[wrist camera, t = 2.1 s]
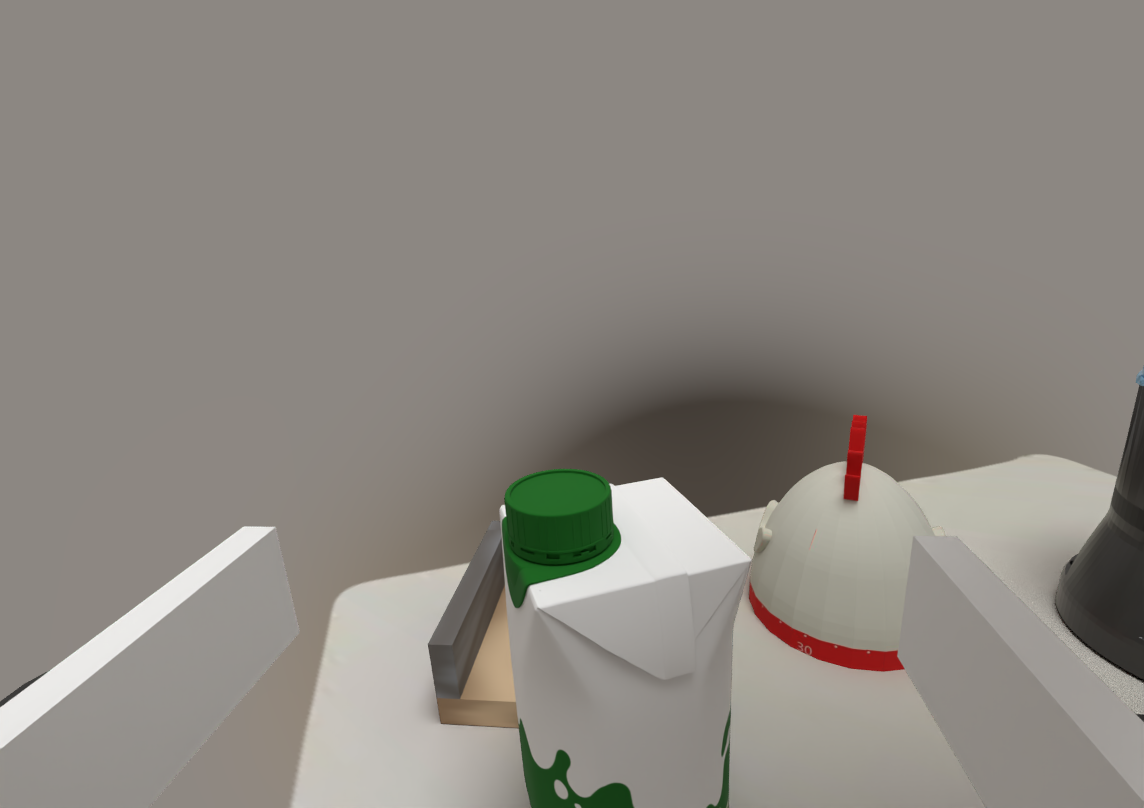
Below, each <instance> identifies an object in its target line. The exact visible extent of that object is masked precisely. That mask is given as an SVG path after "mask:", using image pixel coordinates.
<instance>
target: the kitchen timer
mask: <svg viewBox="0 0 1144 808" xmlns="http://www.w3.org/2000/svg"><path fill="white" fill-rule="evenodd" d="M866 423H867V416H859V415H854V416H853V421H852V427H851V432H850V442H849V450H848V457H847V461H846V462H838V463H834V464H830V465H827V466H824V467H822V468H820V469H818V470H816V471H814V472H812V473H810V474H809V475H807V476H806V477H804V478H803V479H801V480H800V481H799V482H798V483H797V484H795V485H794V486H793V487H792V488H791V489H790V490H789V492H788V493H787V494H786V495H785V496H784V498H783V499H782V500H781V501H780V503H778V502H776V501H775V500H772V501H770V502H769V504H768V505H767V507H766V510H765V512H764V515H763V518H762V520H761V523H760V526H759V530H758V534H757V538H756V542H755V546H754V556H753V560H752V567H751V576H750V592H749V599H750V602H751V604H752V607H753V610H754V612H755V615H756V616H757V617H758V618H759V619H760V621H761V622H762V623H763V624H764V625H765V627H766V628H767V629H768V630H769V631H770V632H771V633H773V634H774V635H776V636H777V637H778V638H780V639H781V640H782V641H784V642H785V643H787V644H788V645H789V646H791V647H793V648H795V649H797V650H799V651H801V652H803V653H806V654H808V655H810V656H812V657H814V658H816V659H818V660H822V661H825V662H829V663H833V664H836V665H840V666H843V667H847V668H851V669H861V670H872V671H882V672H884V671H893V670H901V669H904V667H903V665H902V663H901V662H900V660H899V658H898V657H897V655H898V648H899V640H900V633H901V625H902V617H903V610H904V602H905V595H906V587H907V580H908V572H909V565H910V557H911V550H912V542H913V536H946V535H945V532H944V530H943V528H942V527H940V526H938V527H933V528H931V526H930V524H929V522H928V520H927V518H926V516H925V515H924V513H923V511H922V510H921V508H920V507H919V505H918V504H917V503H916V501H915V500H914V499H913V498H912V496H911V495H910V494H909V493H908V492H907V491H906V490H905V489H904V488H903V487H902V486H901V485H900V484H898V483H897V482H896V481H895V480H894V479H893V478H891V477H890V476H889V475H887V474H886V473H884V472H882V471H880V470H879V469H877V468H875V467H873V466H870V465H867V464H864V463H863V456H864V445H865V436H866Z"/></svg>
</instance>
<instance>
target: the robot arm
mask: <svg viewBox="0 0 1144 808" xmlns="http://www.w3.org/2000/svg"><path fill="white" fill-rule="evenodd" d="M1136 383H1138V384H1139V390H1138V394H1137V398H1136V402H1135V407H1134V411H1133V415H1132V419H1131V424H1130V428H1129V432H1128V436H1127V440H1126V444H1125V448H1124V452H1123V456H1122V460H1121V464H1120V468H1119V471H1118V475H1117V479H1116V485H1115V488H1114V492H1113V496H1112V501H1111V505H1110V508H1109V511H1108V513H1107V514H1106V516H1105V517H1104V518H1103V520H1102V521H1101V522H1100V524H1099V525H1098V526H1097V528H1096V529H1095V531H1094V532H1093V533H1092V535H1091V536H1090V537H1089V539H1088V540H1087V542H1086V543H1085V545H1084V546H1083V548H1082V549H1081V551H1080V552H1079V554H1077V555H1075V556H1074V557H1072V558H1071V559H1070V560H1069V562H1068V563H1067V564H1066V565H1065V566H1064V568H1063V571H1062V573H1061V576H1060V581H1059V585H1058V590H1057V594H1056V606H1057V609H1058V611H1059V613H1060V615H1061V617H1062V619H1063V620H1064V621H1065V623H1066V624H1067V625H1068V626H1069V628H1070V629H1071V630H1072V631H1073V632H1074V633H1075V634H1076V635H1077V636H1078V637H1079V638H1081V639H1082V640H1083V641H1084V642H1085V643H1086V644H1088V645H1089V646H1090V647H1091V648H1093V649H1094V650H1095V651H1097V652H1098V653H1100V654H1101V655H1103V656H1104V657H1105V658H1107V659H1109V660H1110V661H1112V662H1113V663H1115V664H1116V665H1118V666H1120V667H1121V668H1123V669H1125V670H1127V671H1128V672H1130V673H1132V674H1134V675H1136V676H1138V677H1140V678H1141V679H1143V680H1144V367H1143V370H1142V371H1140V372H1139V373H1138V375H1137V378H1136ZM298 634H299V627H298V623H297V618H296V614H295V609H294V605H293V601H292V597H291V592H290V588H289V583H288V580H287V575H286V570H285V566H284V561H283V557H282V553H281V549H280V544H279V540H278V535H277V531H276V527H243V528H241V529H240V530H239V531H237V532H236V533H235V534H233V535H232V536H231V537H229V538H228V539H226V540H225V541H224V542H222V543H221V544H220V545H218V546H217V547H216V548H214V549H213V550H212V551H210V552H209V553H208V554H206V555H205V556H204V557H202V558H201V559H200V560H198V561H197V562H196V563H194V564H193V565H191V566H190V567H189V568H188V569H186V570H185V571H184V572H182V573H181V574H179V575H178V576H177V577H175V578H174V579H173V580H171V581H170V582H169V583H167V584H166V585H165V586H163V587H162V588H161V589H159V590H158V591H157V592H155V593H154V594H152V595H151V596H150V597H148V598H147V599H146V600H144V601H143V602H142V603H140V604H139V605H138V606H136V607H135V608H134V609H132V610H131V611H130V612H128V613H127V614H125V615H124V616H123V617H121V618H120V619H119V620H117V621H116V622H115V623H113V624H112V625H111V626H109V627H108V628H107V629H105V630H104V631H103V632H101V633H100V634H99V635H97V636H96V637H95V638H93V639H92V640H90V641H89V642H88V643H87V644H85V645H84V646H82V647H81V648H80V649H78V650H77V651H76V652H74V653H73V654H72V655H70V656H69V657H68V658H66V659H65V660H64V661H62V662H61V663H60V664H58V665H57V666H55V667H54V668H53V669H51V670H49V671H48V672H46V673H44V674H42V675H40V676H38V677H36V678H35V679H33V680H31V681H29V682H27V683H25V684H24V685H22V686H21V687H19V688H18V689H17V690H15V691H14V692H13V693H11V694H10V695H9V696H7V697H6V698H4V699H3V700H2V701H1V702H0V808H149V807H150V806H151V805H152V804H153V803H154V802H155V800H156V799H157V798H158V797H159V796H160V794H161V793H162V792H163V791H164V790H165V789H166V788H167V786H168V785H169V784H170V783H171V782H172V781H173V779H174V778H175V777H176V776H177V774H178V773H179V772H180V771H181V770H182V769H183V768H184V766H185V765H186V764H187V763H188V761H190V760H191V758H192V757H193V756H194V755H195V754H196V753H197V751H198V750H199V749H200V748H201V747H202V746H203V744H204V743H205V742H206V741H207V740H208V738H209V737H210V736H211V735H212V734H213V733H214V731H215V730H216V729H217V728H218V727H219V726H220V725H221V723H222V722H223V721H224V720H225V719H226V718H227V716H228V715H229V714H230V713H231V712H232V711H233V709H234V708H235V707H236V706H237V705H238V703H239V702H240V701H241V700H242V699H243V698H244V696H245V695H246V694H247V693H248V692H249V691H250V690H251V688H252V687H253V686H254V685H255V684H256V682H257V681H258V680H259V679H260V678H261V677H262V675H263V674H264V673H265V672H266V671H267V670H268V668H269V667H270V666H271V665H272V664H273V663H274V661H275V660H276V659H277V658H278V657H279V656H280V655H281V653H282V652H283V651H284V650H285V649H286V647H287V646H288V645H289V644H290V643H291V642H292V640H293V639H294V638H295V637H296V636H297V635H298ZM897 657H898V658H899V660H900V662H901V663H902V665H903V667H904V669H905V670H906V672H907V674H908V675H909V677H910V679H911V680H912V682H913V684H914V686H915V687H916V689H917V691H918V692H919V694H920V696H921V698H922V699H923V701H924V703H925V704H926V706H927V708H928V710H929V711H930V713H931V715H932V716H933V718H934V720H935V721H936V723H937V725H938V727H939V728H940V730H941V732H942V733H943V735H944V737H945V739H946V740H947V742H948V744H949V745H950V747H951V749H952V751H953V752H954V754H955V756H956V757H957V759H958V761H959V762H960V764H961V766H962V768H963V769H964V771H965V773H966V774H967V776H968V778H969V780H970V781H971V783H972V785H973V786H974V788H975V790H976V792H977V793H978V795H979V797H980V798H981V800H982V802H983V803H984V805H985V807H986V808H1144V715H1141V714H1135V713H1134V712H1133V711H1132V710H1131V709H1130V708H1129V707H1128V706H1127V705H1126V704H1125V703H1124V702H1123V701H1122V700H1121V699H1120V698H1119V697H1118V696H1117V695H1116V694H1115V693H1114V692H1113V691H1112V690H1111V689H1110V688H1109V687H1108V686H1107V685H1106V684H1105V683H1104V682H1103V681H1102V680H1101V679H1100V678H1099V677H1098V676H1097V675H1096V674H1095V673H1094V672H1093V671H1092V670H1091V669H1090V668H1089V667H1088V666H1087V665H1086V664H1085V663H1084V662H1083V661H1082V660H1081V659H1080V658H1079V657H1078V656H1077V655H1076V654H1075V653H1074V652H1073V651H1072V650H1071V649H1070V648H1069V647H1068V646H1067V645H1066V644H1065V643H1064V642H1063V641H1062V640H1061V639H1060V638H1059V637H1058V636H1057V635H1056V634H1055V633H1054V632H1053V631H1052V630H1051V629H1050V628H1049V627H1048V626H1047V625H1046V624H1045V623H1044V622H1043V621H1042V620H1041V619H1040V618H1039V617H1038V616H1037V615H1036V614H1035V613H1034V612H1033V611H1032V610H1031V609H1030V608H1028V607H1027V606H1026V605H1025V604H1024V603H1023V602H1022V601H1021V600H1020V599H1019V598H1018V597H1017V596H1016V595H1015V594H1014V593H1013V592H1012V591H1011V590H1010V589H1009V588H1008V587H1007V586H1006V585H1005V584H1004V583H1003V582H1002V581H1001V580H1000V579H999V578H998V577H997V576H996V575H995V574H994V573H993V572H992V571H991V570H990V569H989V568H988V567H987V566H986V565H985V564H984V563H983V562H982V561H981V560H980V559H979V558H978V557H977V556H976V555H975V554H974V553H973V552H972V551H971V550H970V549H969V548H968V547H967V546H966V545H965V544H964V543H963V542H962V541H961V540H960V539H959V538H958V537H957V536H913V542H912V550H911V557H910V565H909V572H908V580H907V587H906V595H905V602H904V610H903V617H902V625H901V633H900V640H899V648H898V655H897Z"/></svg>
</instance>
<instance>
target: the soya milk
mask: <svg viewBox="0 0 1144 808" xmlns="http://www.w3.org/2000/svg"><path fill="white" fill-rule="evenodd" d="M504 499H505V505H503V506H501V508H500V510H499V511H500V523H501V536H502V550H503V563H504V578H505V592H506V607H507V619H508V630H509V641H510V653H511V662H512V671H513V680H514V689H515V698H516V707H517V716H518V725H519V733H520V742H521V751H522V760H523V768H524V776H525V782H526V787H527V791H528V795H529V799H530V804H531V808H729V754H730V718H731V683H732V648H733V627H734V621H735V617H736V614H737V610H738V607H739V603H740V600H741V596H742V593H743V589H744V586H745V582H746V579H747V575H748V572H749V568H750V565H751V561H752V559H751V558H750V557H749V556H748V555H747V554H746V553H745V552H744V551H742V550H741V549H740V548H739V547H738V546H737V545H736V544H735V543H734V542H733V541H732V540H730V539H729V538H728V537H727V536H726V535H725V534H724V533H723V532H722V531H721V530H720V529H718V528H717V527H716V526H715V525H714V524H713V523H712V522H711V521H710V520H709V519H708V518H707V517H705V516H704V515H703V514H702V513H701V512H700V511H699V510H698V509H697V508H696V507H695V506H693V505H692V504H691V503H690V502H689V501H688V500H687V499H686V498H685V497H684V496H683V495H681V494H680V493H679V492H678V491H677V490H676V489H675V488H674V487H673V486H672V485H670V484H669V483H668V482H667V481H666V480H665V479H664V478H657V479H651V480H647V481H641V482H636V483H630V484H624V485H619V486H614V485H613V484H609V483H608V482H607V481H606V480H605V479H604V478H603V477H601V476H599V475H597V474H595V473H592V472H588V471H583V470H577V469H554V470H546V471H541V472H537V473H533V474H530V475H527V476H525V477H523V478H521V479H519V480H517V481H515V482H514V483H513V484H512V485H510V486H509V488H508V489H507V491H506V493H505V498H504Z"/></svg>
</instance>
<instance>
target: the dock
mask: <svg viewBox="0 0 1144 808" xmlns="http://www.w3.org/2000/svg"><path fill="white" fill-rule="evenodd" d="M428 648H429V654H430V660H431V666H432V672H433V679H434V685H435V691H436V697H437V703H438V709H439V715H440V721H441V724H459V725H477V726H494V727H512V728H519V725H518V716H517V707H516V698H515V689H514V680H513V671H512V662H511V653H510V641H509V630H508V619H507V607H506V592H505V578H504V563H503V550H502V536H501V523H500V521H492V522H491V524H490V526H489V528H488V530H487V532H486V534H485V535H484V537H483V539H482V541H481V543H480V545H479V547H478V549H477V551H476V553H475V555H474V557H473V559H472V561H471V562H470V564H469V566H468V568H467V570H466V572H465V574H464V576H463V578H462V580H461V582H460V584H459V586H458V587H457V589H456V591H455V593H454V595H453V597H452V599H451V601H450V603H449V605H448V607H447V609H446V611H445V613H444V614H443V616H442V618H441V620H440V622H439V624H438V626H437V628H436V630H435V632H434V634H433V636H432V638H431V639H430V641H429V643H428Z"/></svg>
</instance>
